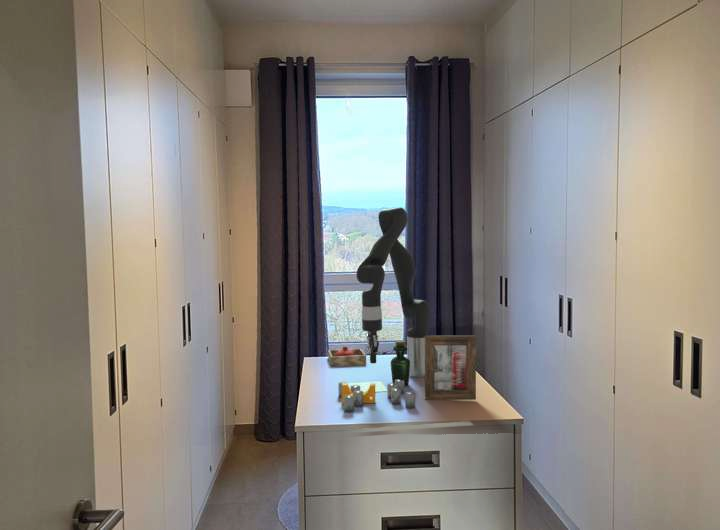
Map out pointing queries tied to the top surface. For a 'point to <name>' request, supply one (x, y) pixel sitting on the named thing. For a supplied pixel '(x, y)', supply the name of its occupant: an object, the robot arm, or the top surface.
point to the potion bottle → (400, 364)
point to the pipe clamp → (366, 395)
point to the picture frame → (450, 367)
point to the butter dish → (345, 352)
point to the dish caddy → (347, 358)
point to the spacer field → (392, 393)
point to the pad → (365, 386)
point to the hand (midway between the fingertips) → (373, 362)
